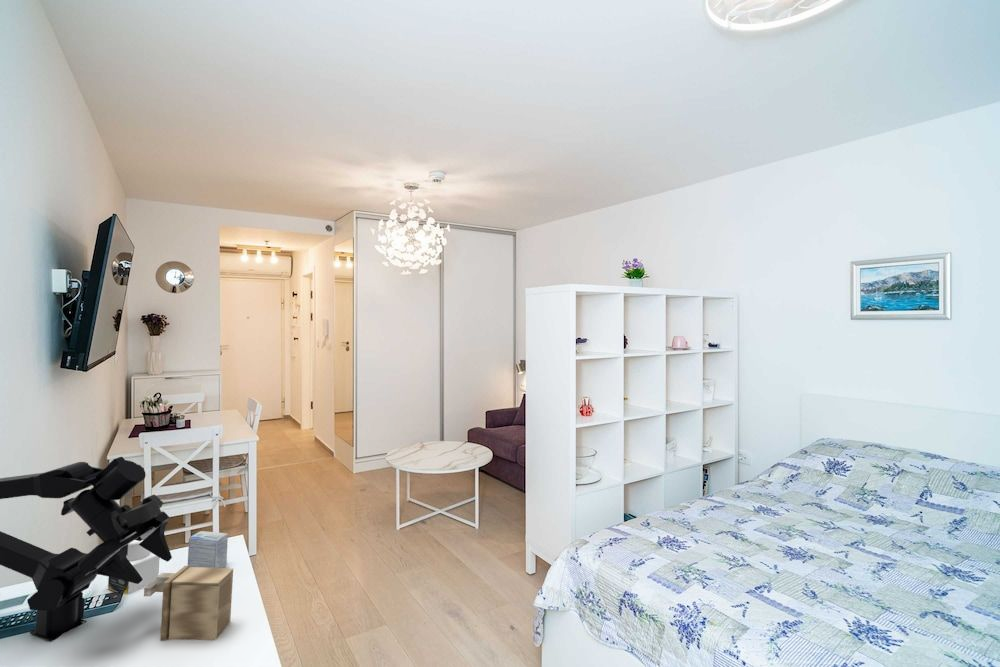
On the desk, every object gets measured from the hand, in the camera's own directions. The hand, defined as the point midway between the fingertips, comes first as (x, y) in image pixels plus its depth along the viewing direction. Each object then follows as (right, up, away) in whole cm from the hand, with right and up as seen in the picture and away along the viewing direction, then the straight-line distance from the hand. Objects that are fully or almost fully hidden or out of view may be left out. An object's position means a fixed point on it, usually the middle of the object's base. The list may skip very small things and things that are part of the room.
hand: (155, 570), depth 99 cm
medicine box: (-5, -13, +26) cm, 30 cm away
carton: (+9, -13, 0) cm, 16 cm away
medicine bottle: (-17, -12, +16) cm, 26 cm away
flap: (+2, -12, 0) cm, 12 cm away
